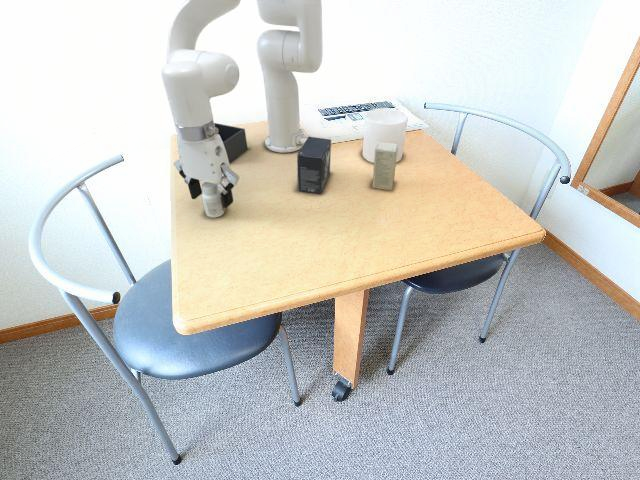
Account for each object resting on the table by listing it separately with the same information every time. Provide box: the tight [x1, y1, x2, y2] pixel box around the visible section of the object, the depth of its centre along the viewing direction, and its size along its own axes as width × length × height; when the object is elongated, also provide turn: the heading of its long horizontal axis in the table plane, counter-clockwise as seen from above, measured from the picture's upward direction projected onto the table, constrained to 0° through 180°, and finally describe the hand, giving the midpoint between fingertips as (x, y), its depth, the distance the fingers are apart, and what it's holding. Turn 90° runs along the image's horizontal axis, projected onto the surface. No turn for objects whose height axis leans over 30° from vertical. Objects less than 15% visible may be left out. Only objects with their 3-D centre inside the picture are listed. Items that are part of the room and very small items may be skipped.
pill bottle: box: [201, 181, 225, 218], centre depth 85 cm, size 4×4×8 cm
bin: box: [214, 122, 249, 164], centre depth 109 cm, size 12×10×7 cm
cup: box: [362, 107, 409, 164], centre depth 106 cm, size 12×12×12 cm
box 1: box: [296, 136, 332, 195], centre depth 95 cm, size 11×7×10 cm, turn 166°
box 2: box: [372, 142, 398, 191], centre depth 93 cm, size 5×4×11 cm
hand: (212, 200), depth 85 cm, fingers open, 8 cm apart
